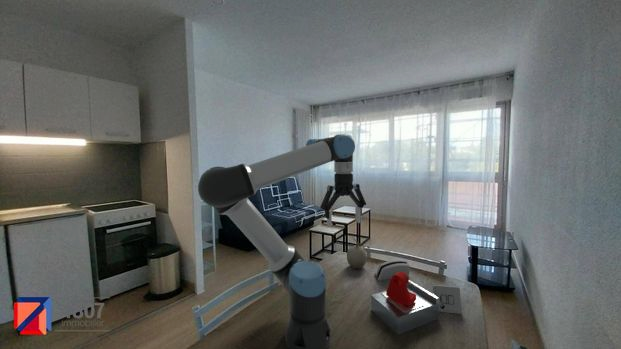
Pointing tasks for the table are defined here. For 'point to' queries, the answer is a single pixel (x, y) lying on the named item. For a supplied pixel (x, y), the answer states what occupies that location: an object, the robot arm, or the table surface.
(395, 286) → the bracket
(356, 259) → the fruit
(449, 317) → the table surface
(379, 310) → the grey ridged box
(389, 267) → the grey curved slab
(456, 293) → the electrical switch
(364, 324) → the table surface
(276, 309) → the table surface
